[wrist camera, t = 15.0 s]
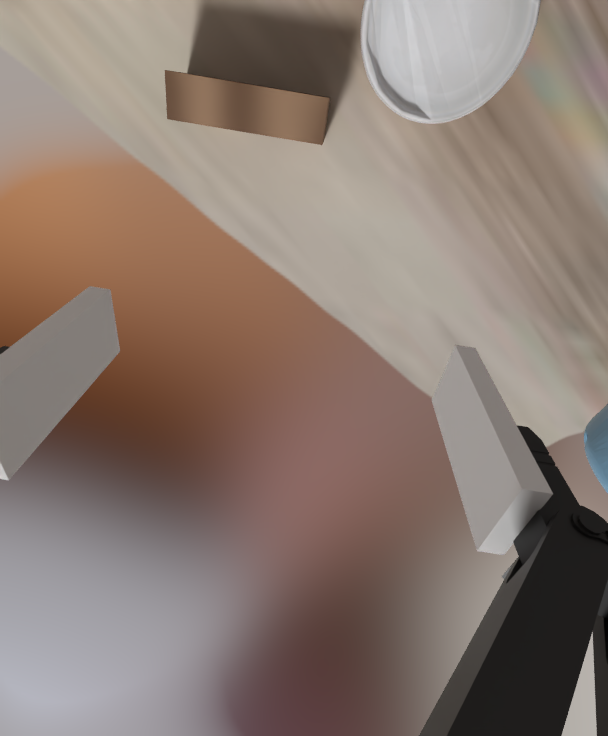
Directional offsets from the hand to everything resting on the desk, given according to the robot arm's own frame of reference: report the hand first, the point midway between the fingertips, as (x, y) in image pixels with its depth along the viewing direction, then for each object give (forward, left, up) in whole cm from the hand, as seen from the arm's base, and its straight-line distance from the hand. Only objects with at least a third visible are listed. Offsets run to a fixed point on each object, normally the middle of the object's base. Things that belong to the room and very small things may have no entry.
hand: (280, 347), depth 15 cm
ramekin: (-7, -13, -27) cm, 31 cm away
